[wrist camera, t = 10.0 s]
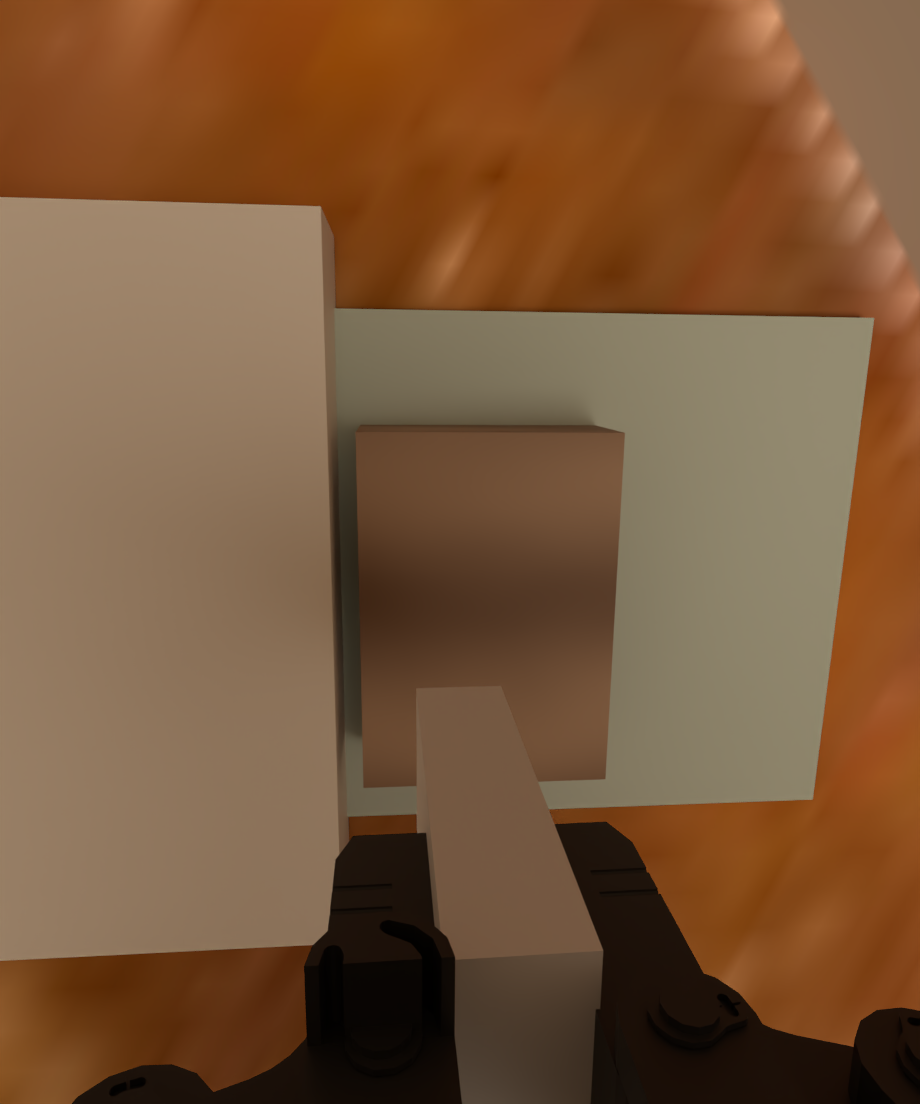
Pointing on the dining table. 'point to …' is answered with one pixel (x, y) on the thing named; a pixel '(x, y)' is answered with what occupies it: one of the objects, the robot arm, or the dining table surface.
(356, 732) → the mat
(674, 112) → the dining table surface
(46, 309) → the cream flat block
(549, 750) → the walnut block
